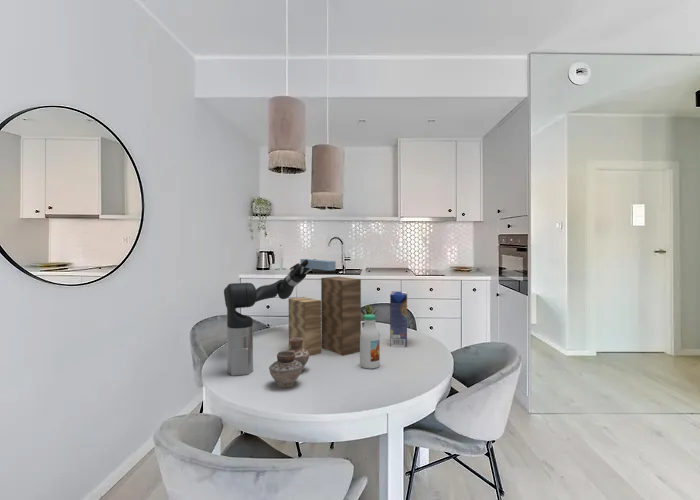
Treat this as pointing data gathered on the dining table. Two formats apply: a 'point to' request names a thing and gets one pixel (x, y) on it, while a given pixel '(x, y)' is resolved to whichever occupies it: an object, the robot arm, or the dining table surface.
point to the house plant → (367, 312)
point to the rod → (320, 264)
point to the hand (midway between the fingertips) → (311, 260)
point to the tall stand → (341, 314)
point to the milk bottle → (369, 343)
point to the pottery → (289, 363)
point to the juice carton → (398, 319)
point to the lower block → (306, 323)
